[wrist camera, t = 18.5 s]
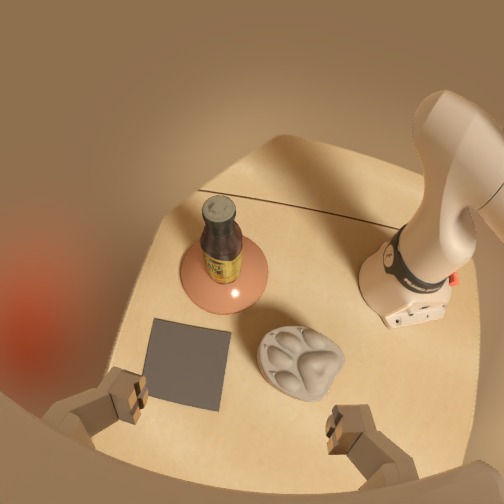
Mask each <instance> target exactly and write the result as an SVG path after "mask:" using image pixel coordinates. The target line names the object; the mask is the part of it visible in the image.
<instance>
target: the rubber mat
mask: <svg viewBox="0 0 504 504" xmlns="http://www.w3.org/2000/svg"><path fill="white" fill-rule="evenodd" d="M230 337H231V333H228V332H222V331H216V330H210V329H204V328H198V327H193V326H187V325H182V324H177V323H172V322H167V321H163V320H158V319H154V323H153V327H152V332H151V336H150V341H149V346H148V350H147V355H146V360H145V365H144V371H143V376H144V377H145V378H146V384H145V387H146V388H147V389H148V396H151V397H155V398H159V399H163V400H166V401H170V402H174V403H179V404H183V405H187V406H192V407H197V408H202V409H207V410H212V411H218V412H219V406H220V400H221V393H222V387H223V380H224V374H225V368H226V362H227V355H228V349H229V343H230Z"/></svg>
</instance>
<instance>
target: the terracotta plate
mask: <svg viewBox="0 0 504 504" xmlns="http://www.w3.org/2000/svg"><path fill="white" fill-rule="evenodd" d="M242 242H243V248H242V267H241V272H240V275H239V276H238V278H237V279H236V280H235V281H234V282H233V283H230V284H225V285H221V284H218V283H216V282H215V281H213V280H212V279H211V278H210V276H209V275H208V273H207V270H206V266H205V262H204V258H203V255H202V250H201V245H200V240H199V241H198V242H197V243H195V244H194V245H193V246H192V247H191V249H190V250H189V251H188V253H187V254H186V256H185V258H184V260H183V263H182V268H181V279H182V284H183V287H184V289H185V291H186V293H187V295H188V296H189V298H190V299H191V300H192V301H193V302H194V303H195V304H196V305H197V306H198V307H200V308H201V309H203V310H205V311H207V312H210V313H214V314H220V315H229V314H235V313H238V312H241V311H243V310H246V309H247V308H249V307H250V306H252V305H253V304H254V303H255V302H256V301H257V300H258V299H259V298H260V296H261V295H262V293H263V291H264V289H265V287H266V284H267V279H268V265H267V261H266V258H265V256H264V254H263V252H262V251H261V249H260V248H259V247H258V246H257V245H256V244H255V243H254V242H253V241H251V240H250V239H248V238H246V237H244V236H242Z"/></svg>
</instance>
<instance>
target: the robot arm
mask: <svg viewBox="0 0 504 504" xmlns="http://www.w3.org/2000/svg"><path fill="white" fill-rule="evenodd" d="M412 139H413V144H414V147H415V149H416V151H417V153H418V156H419V159H420V161H421V165H422V169H423V173H424V196H423V200H422V202H421V205H420V207H419V208H418V210H417V211H416V213H415V215H414V216H413V217H412V219H411V220H410V222H409V223H407V224H405V225H404V226H403V227H402V228H400V229H399V230H398V232H397V233H396V234H395V235H394V237H393V238H392V239H391V240H390V241H389V242H385V243H384V244H382V245H381V247H380V248H379V250H378V251H377V252H376V253H374V254H372V255H371V256H369V257H368V258H367V259H366V260H365V261H364V263H363V264H362V266H361V269H360V273H359V286H360V290H361V293H362V295H363V298H364V299H365V301H366V303H367V304H368V305H369V306H370V307H371V308H372V309H373V310H374V311H375V312H376V313H377V314H379V315H380V316H381V318H382V320H383V321H384V323H385V325H386V326H387V327H388V328H389V329H396V328H401V327H406V326H411V325H416V324H421V323H425V322H430V321H434V320H438V319H441V318H442V317H443V316H444V314H445V311H446V306H447V302H448V301H449V299H450V296H451V286H455V285H457V284H459V280H458V277H457V275H458V274H457V273H456V272H455V271H456V270H458V269H459V268H461V267H462V266H463V265H465V264H466V263H467V262H468V261H469V260H470V258H471V257H472V255H473V253H474V250H475V245H476V231H475V226H474V222H473V219H472V216H471V214H470V211H469V207H471V208H472V209H473V210H475V211H476V212H477V213H478V214H479V215H480V216H481V217H482V219H483V220H484V221H485V222H486V223H487V224H488V225H489V227H490V228H491V229H492V230H493V231H494V232H495V234H496V235H497V236H498V237H499V239H500V240H501V241H502V242H503V244H504V128H503V127H502V126H501V125H500V124H499V123H498V122H497V121H495V120H494V119H493V118H492V117H491V116H490V115H489V114H488V113H486V112H485V111H484V110H483V109H482V108H481V107H479V106H478V105H476V104H474V103H473V102H471V101H469V100H467V99H466V98H464V97H462V96H460V95H458V94H456V93H454V92H451V91H450V90H441V91H438V92H435V93H433V94H431V95H429V96H428V97H426V98H425V99H424V100H423V101H422V102H421V103H420V105H419V106H418V108H417V110H416V112H415V114H414V117H413V122H412ZM442 306H443V307H442ZM396 320H397V321H398V323H396ZM145 384H146V378H145V377H144V376H142V375H139V374H136V373H133V372H130V371H127V370H124V369H121V368H118V367H115V366H114V367H113V368H111V370H110V371H109V372H108V374H107V375H106V376H105V378H104V379H103V380H102V382H101V383H100V385H99V386H98V388H97V389H96V388H92V389H89V390H87V391H85V392H82V393H79V394H77V395H74V396H71V397H69V398H66V399H63V400H61V401H58V402H55V403H54V404H53V405H52V406H51V407H50V409H49V410H48V411H47V413H46V414H45V415H44V417H43V418H42V419H41V420H40V419H38V418H37V417H35V416H34V415H32V414H31V413H29V412H27V411H26V410H25V409H23V408H22V407H20V406H19V405H17V404H16V403H15V402H13V401H12V400H11V399H10V398H8V397H7V396H6V395H4V394H3V393H2V392H1V391H0V504H504V482H503V479H502V477H501V474H500V473H499V471H498V470H496V469H495V468H493V467H492V466H490V465H489V464H487V463H485V462H483V461H481V460H475V461H472V462H470V463H467V464H464V465H462V466H459V467H456V468H453V469H451V470H448V471H445V472H442V473H439V474H435V475H432V476H429V477H425V478H421V479H419V477H418V474H417V470H416V467H415V464H414V461H413V458H412V457H410V456H409V455H408V454H407V453H405V452H404V451H403V450H402V449H400V448H399V447H398V446H397V445H396V444H394V443H393V442H392V441H391V440H390V439H388V438H387V437H386V436H385V435H384V434H382V433H381V432H380V431H377V430H376V427H375V423H374V420H373V417H372V414H371V410H370V407H369V405H368V404H367V405H335V406H334V407H333V409H332V413H333V414H332V415H330V416H329V417H328V419H327V422H326V436H327V437H328V438H329V441H328V442H327V447H328V455H346V454H347V455H346V456H347V457H348V458H349V459H350V460H351V462H352V463H353V464H354V465H355V466H356V468H357V469H358V470H359V471H360V472H361V474H362V475H363V476H364V477H365V478H366V480H367V481H366V482H365V483H364V484H363V485H362V486H361V487H360V488H359V489H358V491H352V492H341V493H327V494H274V493H260V492H249V491H241V490H233V489H226V488H220V487H214V486H209V485H203V484H199V483H194V482H189V481H185V480H181V479H177V478H173V477H170V476H166V475H163V474H159V473H156V472H153V471H149V470H146V469H143V468H140V467H137V466H135V465H132V464H129V463H126V462H124V461H121V460H119V459H116V458H114V457H111V456H109V455H107V454H104V453H102V452H100V451H97V450H95V449H96V448H95V445H94V444H93V442H92V440H91V439H90V437H92V436H93V435H95V434H97V433H98V432H100V431H102V430H103V429H105V428H107V427H108V426H110V425H112V424H113V423H115V422H117V421H118V419H119V420H122V421H125V422H128V423H131V424H134V425H136V423H137V421H138V419H139V417H140V415H141V413H140V410H141V409H143V408H144V407H145V405H146V403H147V399H148V389H147V388H146V387H145Z"/></svg>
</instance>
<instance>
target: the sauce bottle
mask: <svg viewBox="0 0 504 504" xmlns="http://www.w3.org/2000/svg"><path fill="white" fill-rule="evenodd" d="M202 215H203V219H204V221H205V223H206V225H205V228H204V231H203V233H202V236H201V238H200V245H201V250H202V255H203V258H204V262H205V266H206V270H207V273H208V275H209V276H210V278H211V279H212V280H213V281H215V282H216V283H218V284H221V285H225V284H230V283H233V282H234V281H235V280H236V279H237V278H238V276H239V275H240V272H241V267H242V248H243V242H242V232H241V229H240V227H239V225H238V224H237V223H236V222H235V221H234V218H235V216H236V207H235V204H234V202H233V201H232V200H231V199H230V198H229V197H226V196H223V195H222V196H220V195H216V196H213V197H211V198H209V199H208V200H206V201H205V203H204V205H203V208H202Z"/></svg>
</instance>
